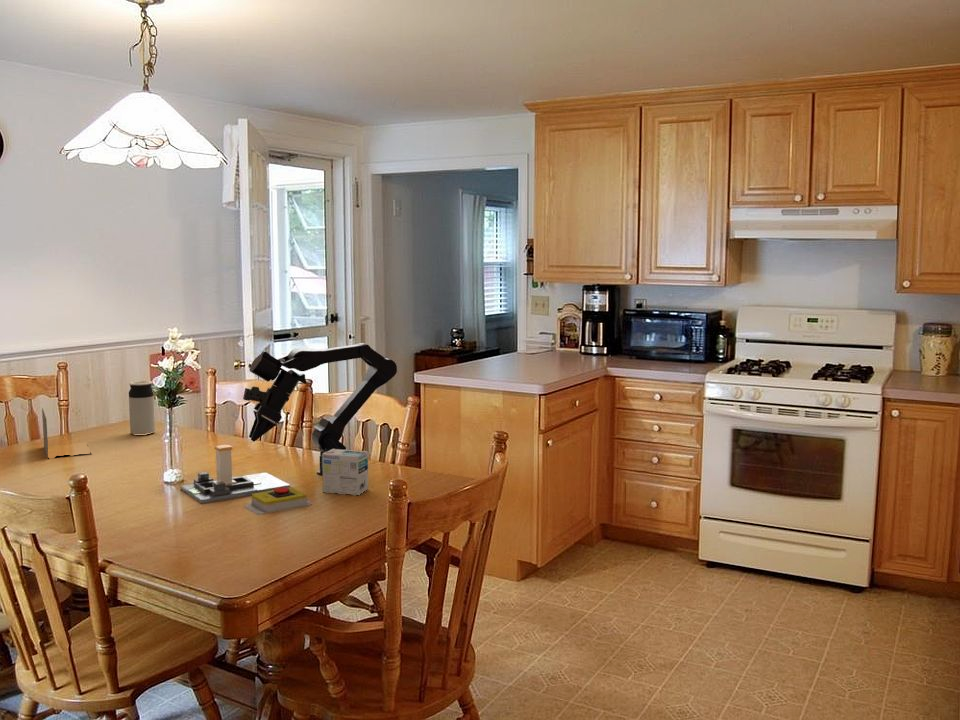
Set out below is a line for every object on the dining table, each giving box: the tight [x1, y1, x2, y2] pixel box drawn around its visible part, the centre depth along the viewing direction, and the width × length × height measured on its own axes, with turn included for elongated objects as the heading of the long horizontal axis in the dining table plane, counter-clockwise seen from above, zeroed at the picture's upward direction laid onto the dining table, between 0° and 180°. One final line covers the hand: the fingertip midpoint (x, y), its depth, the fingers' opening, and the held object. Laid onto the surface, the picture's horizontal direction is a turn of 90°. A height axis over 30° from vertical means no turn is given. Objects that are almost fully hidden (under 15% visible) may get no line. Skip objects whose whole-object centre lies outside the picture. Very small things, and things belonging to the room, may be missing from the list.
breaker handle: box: [213, 444, 236, 486], centre depth 224 cm, size 5×4×11 cm
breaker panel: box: [180, 471, 291, 505], centre depth 226 cm, size 24×16×4 cm, turn 127°
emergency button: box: [243, 486, 313, 516], centre depth 213 cm, size 9×4×15 cm
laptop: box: [41, 408, 49, 458], centre depth 267 cm, size 18×12×13 cm
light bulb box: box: [322, 449, 370, 496], centre depth 225 cm, size 11×7×11 cm, turn 74°
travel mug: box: [128, 380, 156, 435], centre depth 293 cm, size 8×8×18 cm
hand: (251, 439), depth 231 cm, fingers open, 9 cm apart
